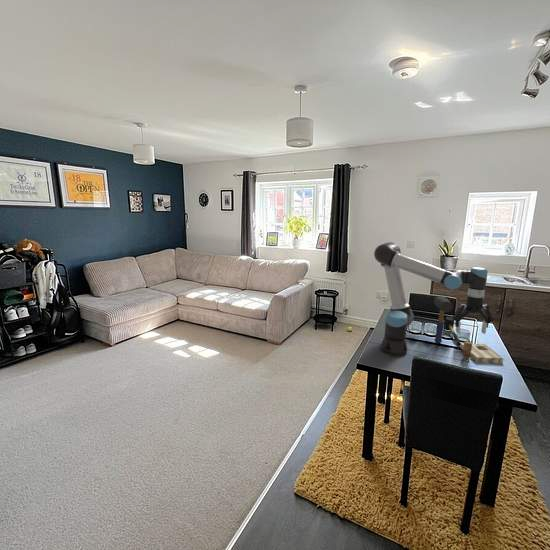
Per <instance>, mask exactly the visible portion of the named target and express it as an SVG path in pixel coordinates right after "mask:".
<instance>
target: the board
mask: <svg viewBox="0 0 550 550" xmlns="http://www.w3.org/2000/svg"><path fill="white" fill-rule="evenodd" d="M471 343H472V350H471V356H470V358H471V359H472V360H473V361H474V360H475V361H476V362H475V361H474V362H475V363H484V362H485V364H490V363H492V364H504V357H502V356H501V355H500V354H499V353H498V352H496V351H495V350H493V349H492V348H491V347H489V346H488V345H487V344H486V343H473V342H471ZM463 346H464V342H461V344H460V346H459V348H460V349H461V350H462V351H463Z"/></svg>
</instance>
